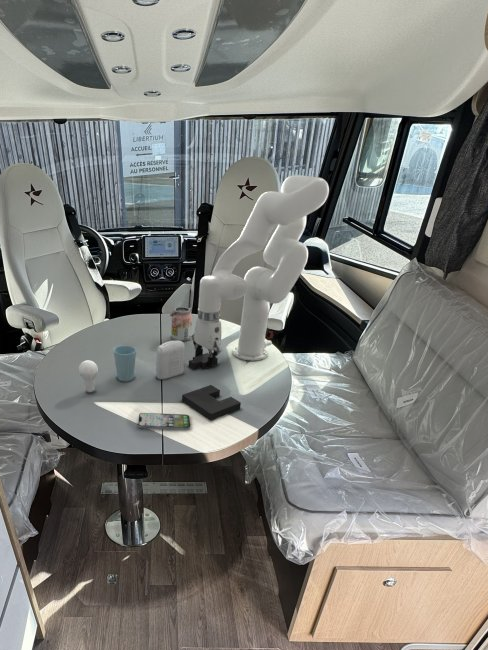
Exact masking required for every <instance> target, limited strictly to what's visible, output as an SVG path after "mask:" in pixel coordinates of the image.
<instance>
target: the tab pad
mask: <svg viewBox="0 0 488 650" xmlns="http://www.w3.org/2000/svg"><path fill="white" fill-rule="evenodd" d="M208 357H210V356H209V352H206V353H203V354H202V355H199V356H195V355H194V356H192V359H190V360H188V368H190V369H191V370H192V371H195V370H198V369H201V370H205V369H209V367H207V364H208ZM218 361H219V358H218V357H216V360H215V366H217V365H218Z"/></svg>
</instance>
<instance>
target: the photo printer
mask: <svg viewBox="0 0 488 650" xmlns="http://www.w3.org/2000/svg"><path fill="white" fill-rule="evenodd" d="M185 349H186V347H185V343H184V341H175V340H170V341H166V342H164V343H162V344H160V345H159V346H157V348H156V365H155V366H156V368H155V369H156V372H155V375H156V378H157V379H158V380H166V379H170V378H173V377H177V376H180V375H183V374H184V368H185V367H184V366H185V351H186V350H185Z"/></svg>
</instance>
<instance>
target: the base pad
mask: <svg viewBox="0 0 488 650" xmlns="http://www.w3.org/2000/svg"><path fill="white" fill-rule="evenodd" d="M220 394H221V390H220V389H219V388H217V387H215V386H214V385H212V384H209V385H205V386H203V387H201V388H197V389H193V390H191V391H189V392H186V393H183V394H181V403H183V404H184V405H186V406H188V407H189V408H190V409H192V410H193V411H195V412H196V413H198V414H199V415H201V416H202V417H204V418H205V419H207V420H208V421H210V422H212V421H214V420H218V419H220V418H222V417H225V416H227V415H229V414H232V413H235V412H237V411H240V410H241V404H242V402H241V401H240V400H238V399H236V398H234V397H233V396H228V397H227V398H224V399H220V400H219V399H217V398H219V397H220V396H221V395H220Z"/></svg>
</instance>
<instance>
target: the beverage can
mask: <svg viewBox="0 0 488 650" xmlns="http://www.w3.org/2000/svg"><path fill="white" fill-rule="evenodd" d="M192 311H193V309H192V308H190V307H186V306H177V307H174V308H173V310H172V312H171V313H169V316H170V317H171V331H170V332H171V333H170V334H171V336H170V337H171V338H172V341H181V342H187V341H189V340H190V339H192V338H191V336H192V323H193V315H192Z"/></svg>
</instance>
